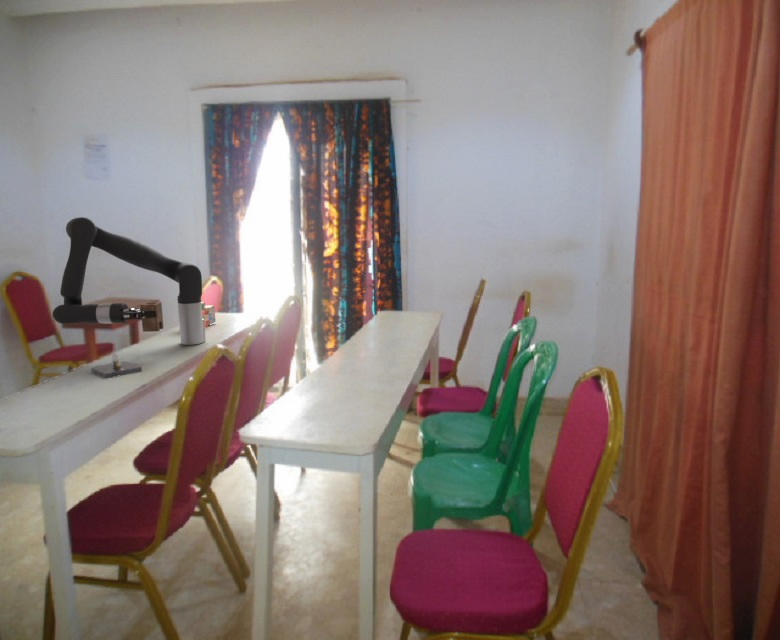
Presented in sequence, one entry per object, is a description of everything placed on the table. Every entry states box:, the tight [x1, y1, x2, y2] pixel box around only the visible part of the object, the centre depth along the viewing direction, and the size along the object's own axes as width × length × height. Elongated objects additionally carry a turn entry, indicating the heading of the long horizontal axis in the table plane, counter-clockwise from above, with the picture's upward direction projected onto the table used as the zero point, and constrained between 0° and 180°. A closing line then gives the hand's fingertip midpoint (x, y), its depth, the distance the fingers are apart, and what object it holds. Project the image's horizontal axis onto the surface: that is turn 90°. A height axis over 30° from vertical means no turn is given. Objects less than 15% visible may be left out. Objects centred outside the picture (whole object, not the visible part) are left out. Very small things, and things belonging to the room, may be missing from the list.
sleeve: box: [140, 301, 164, 333], centre depth 218 cm, size 6×6×10 cm
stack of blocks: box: [201, 301, 216, 328], centre depth 279 cm, size 21×6×12 cm, turn 170°
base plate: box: [90, 352, 142, 379], centre depth 203 cm, size 12×12×6 cm
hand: (158, 312), depth 218 cm, fingers closed on sleeve, 5 cm apart
